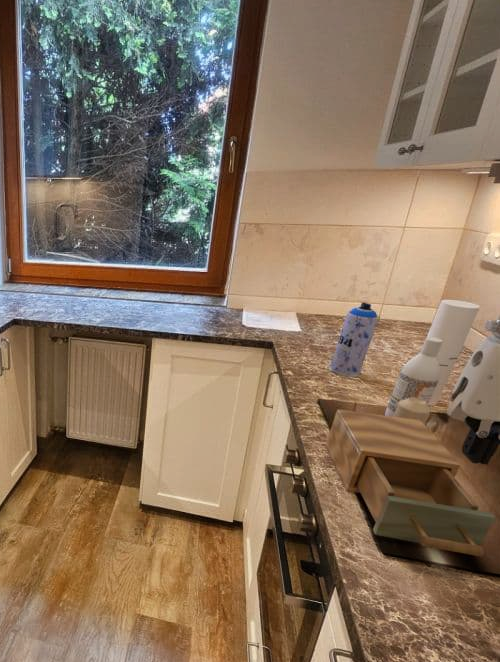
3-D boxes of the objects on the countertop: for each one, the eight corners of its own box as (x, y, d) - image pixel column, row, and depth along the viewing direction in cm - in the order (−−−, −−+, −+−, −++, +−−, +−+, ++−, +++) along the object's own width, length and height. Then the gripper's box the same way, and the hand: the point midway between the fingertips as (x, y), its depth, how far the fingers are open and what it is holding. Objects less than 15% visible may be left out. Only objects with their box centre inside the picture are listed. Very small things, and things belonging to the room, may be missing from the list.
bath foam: (401, 428, 107) (436, 345, 98) (376, 413, 113) (407, 334, 104) (426, 426, 108) (463, 344, 99) (400, 411, 114) (432, 333, 105)
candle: (381, 432, 105) (397, 392, 100) (409, 436, 103) (427, 396, 99) (389, 445, 100) (406, 403, 96) (419, 450, 99) (438, 408, 94)
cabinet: (439, 506, 82) (460, 465, 78) (346, 490, 86) (361, 450, 82) (404, 457, 96) (420, 420, 92) (325, 445, 99) (337, 409, 95)
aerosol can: (322, 367, 138) (343, 300, 129) (344, 365, 140) (366, 299, 131) (343, 377, 131) (367, 308, 123) (366, 375, 133) (391, 306, 124)
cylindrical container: (444, 404, 118) (488, 307, 107) (419, 406, 117) (461, 308, 106) (420, 392, 124) (459, 299, 113) (396, 393, 123) (433, 300, 112)
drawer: (497, 582, 66) (520, 545, 63) (388, 561, 69) (405, 525, 66) (432, 494, 84) (448, 462, 81) (348, 480, 87) (360, 449, 84)
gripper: (481, 337, 56) (424, 465, 64) (637, 350, 53) (556, 483, 61) (450, 319, 62) (402, 437, 70) (586, 329, 59) (519, 452, 67)
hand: (473, 458), depth 66 cm, fingers closed
